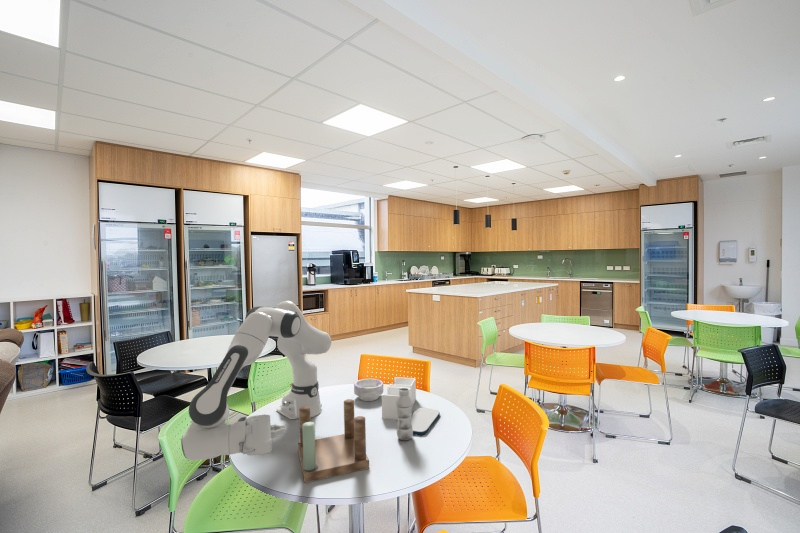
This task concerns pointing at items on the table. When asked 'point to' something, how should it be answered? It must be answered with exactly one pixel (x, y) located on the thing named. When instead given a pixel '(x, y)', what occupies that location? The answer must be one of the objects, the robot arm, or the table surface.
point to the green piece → (309, 446)
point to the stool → (337, 447)
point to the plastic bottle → (404, 415)
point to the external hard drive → (423, 420)
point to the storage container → (393, 393)
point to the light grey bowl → (368, 389)
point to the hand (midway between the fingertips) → (285, 429)
